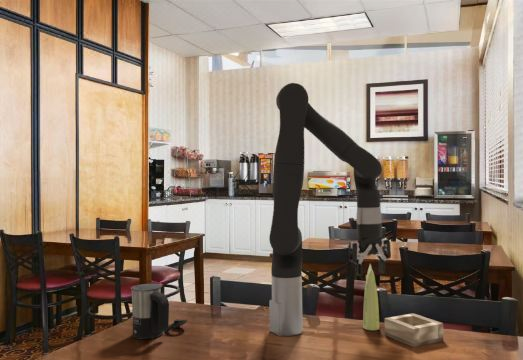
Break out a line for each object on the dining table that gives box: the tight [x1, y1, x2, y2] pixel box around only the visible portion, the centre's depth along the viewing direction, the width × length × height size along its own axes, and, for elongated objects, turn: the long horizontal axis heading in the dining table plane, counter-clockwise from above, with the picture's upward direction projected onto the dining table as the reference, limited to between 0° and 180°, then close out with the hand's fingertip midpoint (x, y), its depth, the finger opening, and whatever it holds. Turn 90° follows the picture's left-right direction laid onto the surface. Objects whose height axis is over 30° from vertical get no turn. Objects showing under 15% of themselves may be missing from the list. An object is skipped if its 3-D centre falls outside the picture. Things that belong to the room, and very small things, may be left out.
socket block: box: [384, 313, 444, 348], centre depth 144 cm, size 11×12×5 cm
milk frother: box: [130, 283, 188, 340], centre depth 153 cm, size 14×16×15 cm
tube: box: [362, 264, 380, 331], centre depth 153 cm, size 6×5×20 cm
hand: (370, 274), depth 153 cm, fingers open, 8 cm apart
